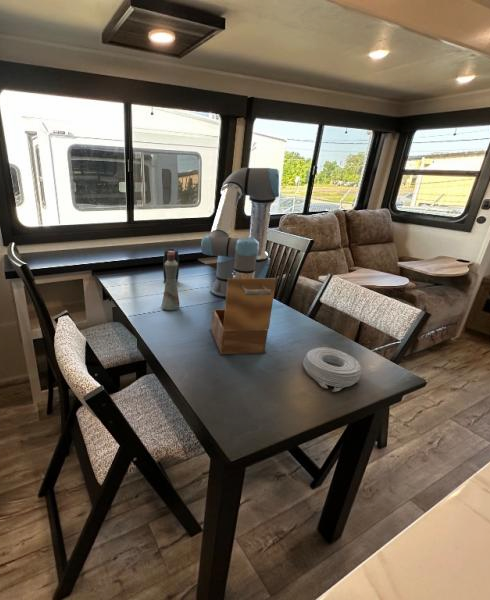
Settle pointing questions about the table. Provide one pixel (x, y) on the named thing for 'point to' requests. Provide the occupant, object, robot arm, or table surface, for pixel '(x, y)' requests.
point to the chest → (236, 337)
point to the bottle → (170, 284)
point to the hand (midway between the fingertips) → (237, 333)
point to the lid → (248, 303)
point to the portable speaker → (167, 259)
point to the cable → (332, 368)
